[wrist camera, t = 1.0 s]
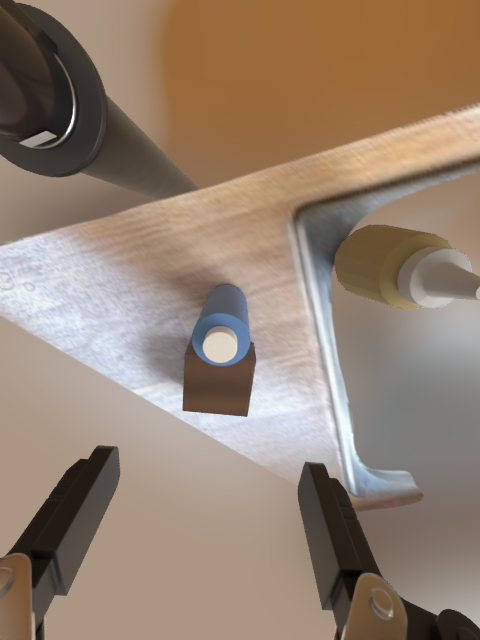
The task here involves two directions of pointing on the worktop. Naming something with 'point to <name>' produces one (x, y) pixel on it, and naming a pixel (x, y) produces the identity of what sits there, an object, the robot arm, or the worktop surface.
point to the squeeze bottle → (404, 268)
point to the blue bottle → (222, 327)
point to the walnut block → (218, 384)
